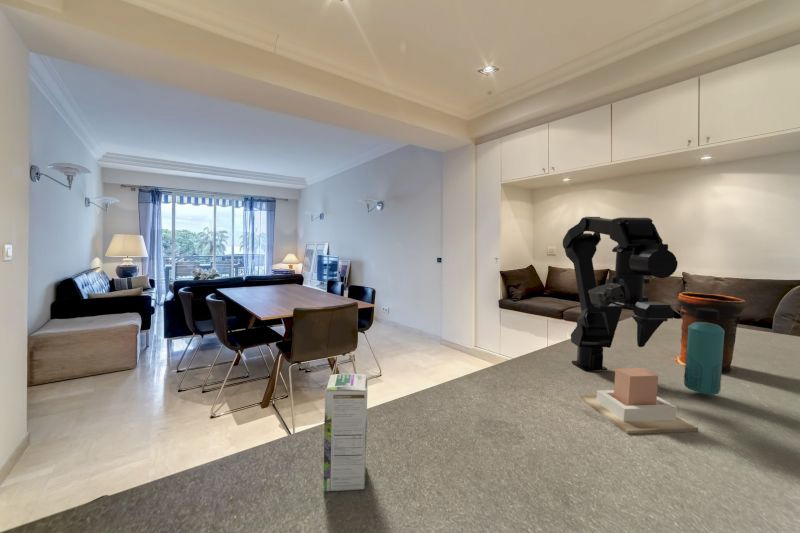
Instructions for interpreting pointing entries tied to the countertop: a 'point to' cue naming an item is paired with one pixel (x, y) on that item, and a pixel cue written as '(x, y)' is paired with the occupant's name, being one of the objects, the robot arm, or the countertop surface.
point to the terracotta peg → (635, 386)
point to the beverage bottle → (704, 354)
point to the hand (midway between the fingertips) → (624, 340)
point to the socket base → (641, 426)
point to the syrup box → (345, 432)
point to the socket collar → (636, 408)
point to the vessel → (712, 321)
